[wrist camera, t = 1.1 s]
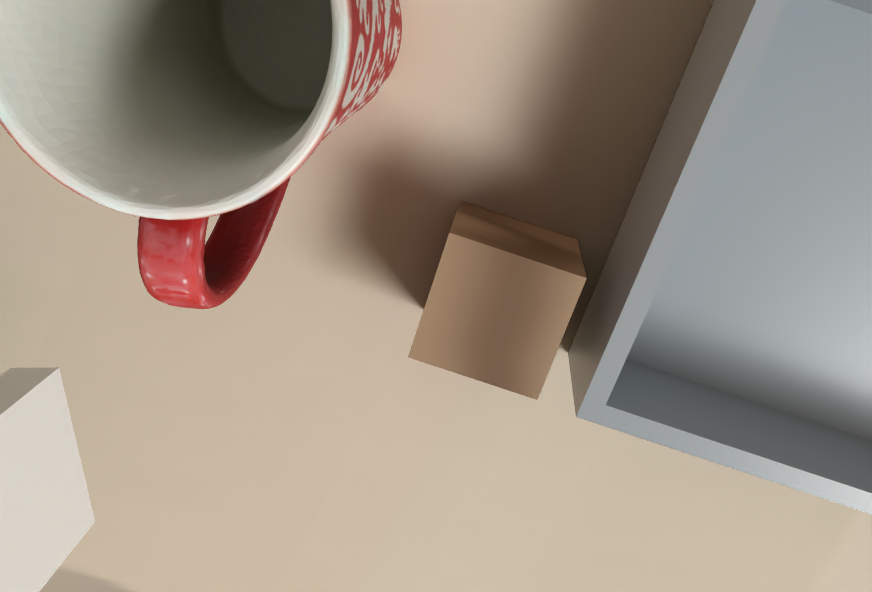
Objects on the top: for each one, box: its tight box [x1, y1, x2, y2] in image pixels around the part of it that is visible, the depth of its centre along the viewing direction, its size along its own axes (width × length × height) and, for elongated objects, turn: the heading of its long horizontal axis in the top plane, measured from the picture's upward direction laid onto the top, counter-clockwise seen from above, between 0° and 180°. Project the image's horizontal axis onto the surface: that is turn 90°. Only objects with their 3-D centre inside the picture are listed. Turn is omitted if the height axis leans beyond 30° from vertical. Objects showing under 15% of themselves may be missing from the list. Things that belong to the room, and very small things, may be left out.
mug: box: [0, 0, 402, 309], centre depth 24 cm, size 13×9×14 cm
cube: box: [408, 201, 587, 400], centre depth 30 cm, size 5×5×5 cm
